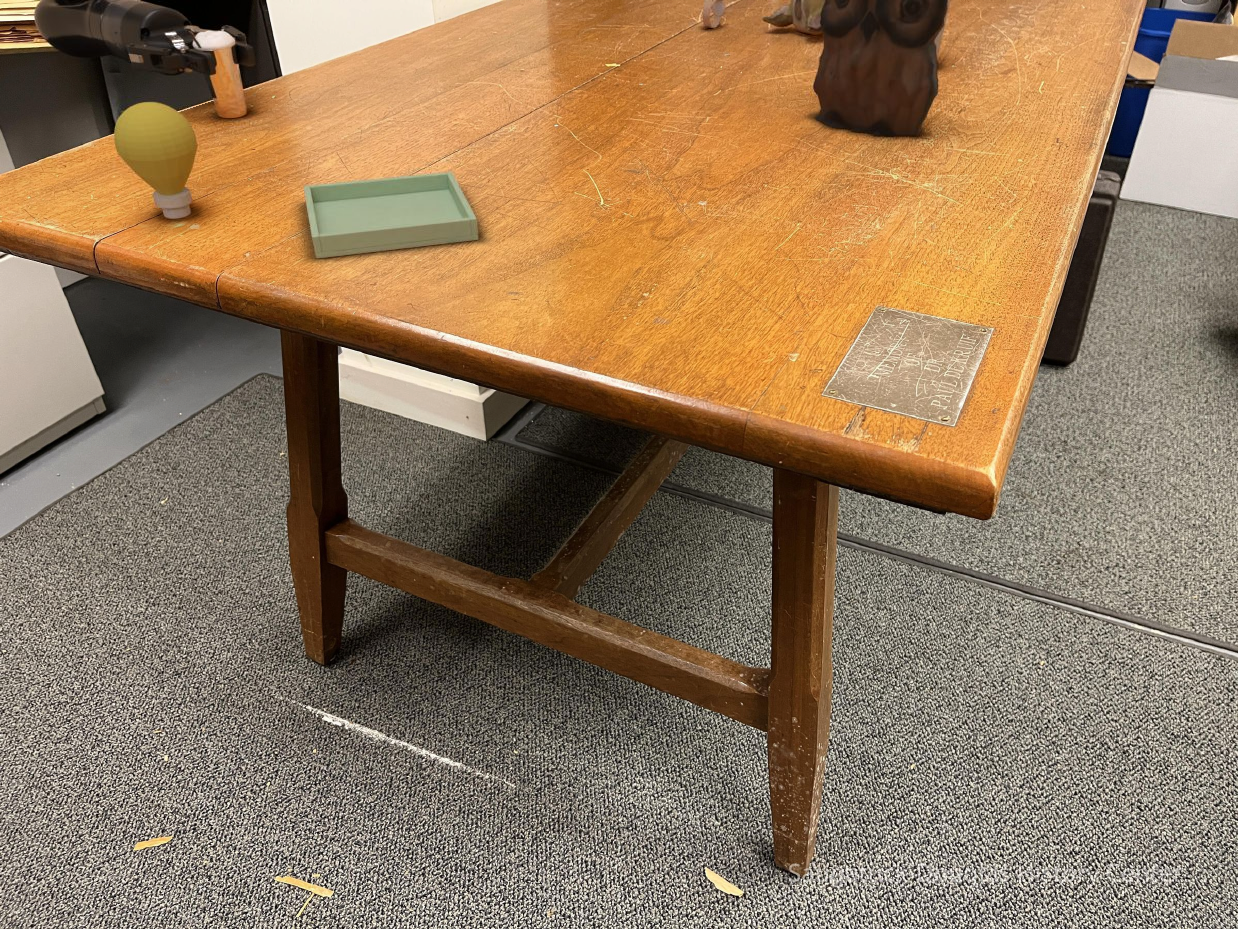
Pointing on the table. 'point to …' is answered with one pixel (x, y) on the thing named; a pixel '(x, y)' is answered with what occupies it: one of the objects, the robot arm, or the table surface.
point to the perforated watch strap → (717, 10)
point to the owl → (878, 64)
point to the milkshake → (223, 72)
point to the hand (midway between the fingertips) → (231, 60)
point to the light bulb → (159, 153)
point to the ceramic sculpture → (799, 16)
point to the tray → (388, 214)
